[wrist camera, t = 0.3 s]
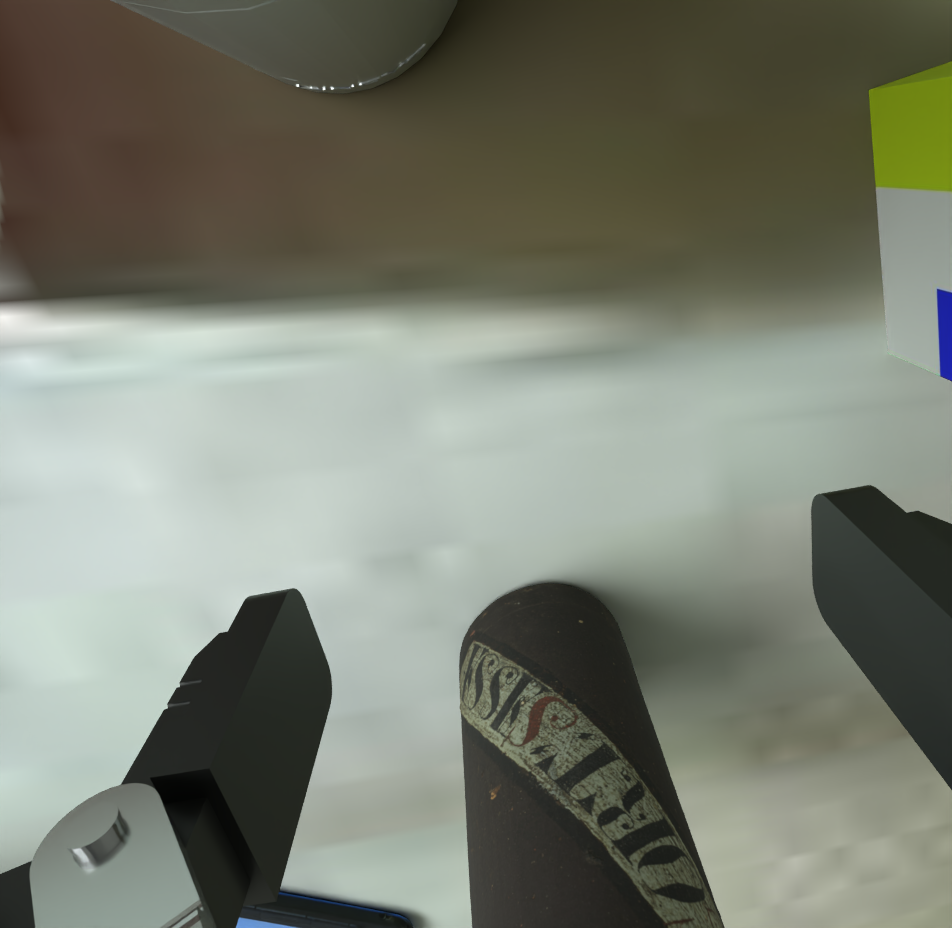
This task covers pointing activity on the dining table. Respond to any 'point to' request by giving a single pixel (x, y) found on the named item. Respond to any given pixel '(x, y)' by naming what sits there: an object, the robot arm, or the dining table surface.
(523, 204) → the dining table surface
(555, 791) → the container
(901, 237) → the puzzle toy
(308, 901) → the handheld game console
